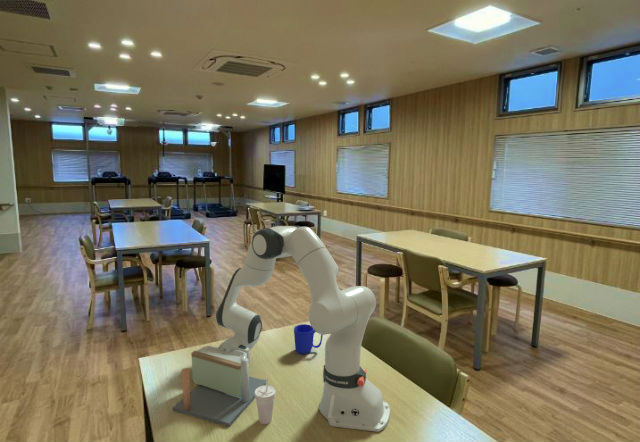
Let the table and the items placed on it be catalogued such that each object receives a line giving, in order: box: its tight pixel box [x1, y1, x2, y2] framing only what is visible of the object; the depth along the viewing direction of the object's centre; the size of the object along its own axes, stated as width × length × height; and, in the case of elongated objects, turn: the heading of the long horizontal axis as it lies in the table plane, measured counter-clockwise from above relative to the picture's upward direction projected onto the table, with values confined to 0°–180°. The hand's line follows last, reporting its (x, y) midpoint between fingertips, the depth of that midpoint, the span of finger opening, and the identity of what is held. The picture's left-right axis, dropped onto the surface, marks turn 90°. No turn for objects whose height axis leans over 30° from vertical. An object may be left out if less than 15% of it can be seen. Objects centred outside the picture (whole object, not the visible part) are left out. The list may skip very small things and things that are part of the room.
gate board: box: [172, 358, 266, 428], centre depth 127 cm, size 21×24×15 cm
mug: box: [293, 323, 324, 355], centre depth 159 cm, size 8×12×10 cm
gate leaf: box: [190, 350, 242, 398], centre depth 129 cm, size 20×2×11 cm, turn 65°
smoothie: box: [254, 377, 277, 425], centre depth 116 cm, size 6×6×14 cm
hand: (206, 370), depth 132 cm, fingers closed
